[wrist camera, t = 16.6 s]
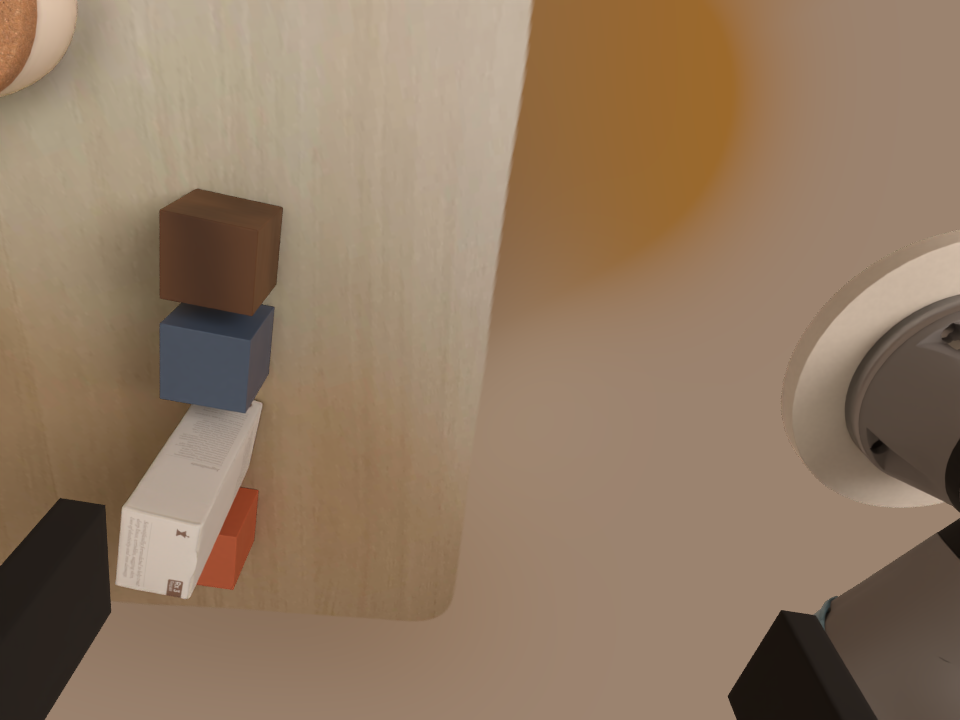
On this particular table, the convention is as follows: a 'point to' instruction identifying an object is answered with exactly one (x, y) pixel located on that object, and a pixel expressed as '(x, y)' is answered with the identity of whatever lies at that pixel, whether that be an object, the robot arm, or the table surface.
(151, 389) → the table surface
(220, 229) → the walnut block
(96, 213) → the table surface
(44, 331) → the table surface
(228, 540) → the terracotta block
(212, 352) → the slate blue block
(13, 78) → the trinket box
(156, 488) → the cosmetic box
